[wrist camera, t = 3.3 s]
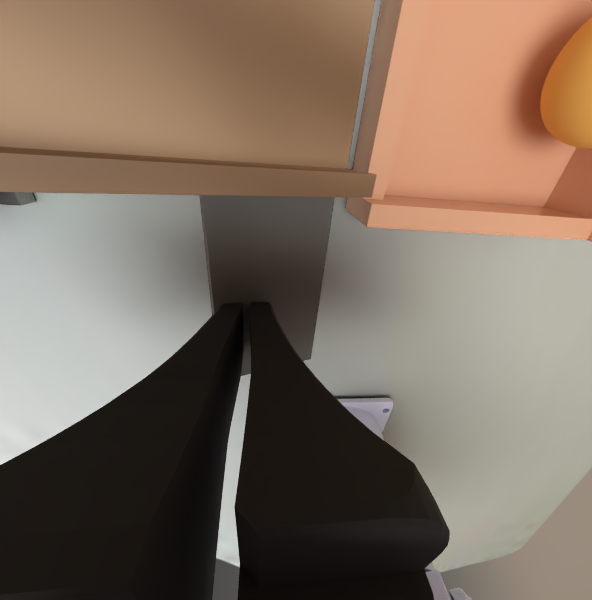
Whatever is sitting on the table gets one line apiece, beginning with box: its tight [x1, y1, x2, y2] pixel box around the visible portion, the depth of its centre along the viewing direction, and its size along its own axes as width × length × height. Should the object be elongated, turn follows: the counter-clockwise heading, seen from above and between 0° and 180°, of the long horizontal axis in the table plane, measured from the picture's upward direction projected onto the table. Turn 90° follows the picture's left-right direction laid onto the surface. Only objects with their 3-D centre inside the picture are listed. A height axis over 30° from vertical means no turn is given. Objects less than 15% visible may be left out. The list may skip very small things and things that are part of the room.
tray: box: [346, 0, 592, 241], centre depth 8 cm, size 10×10×5 cm
